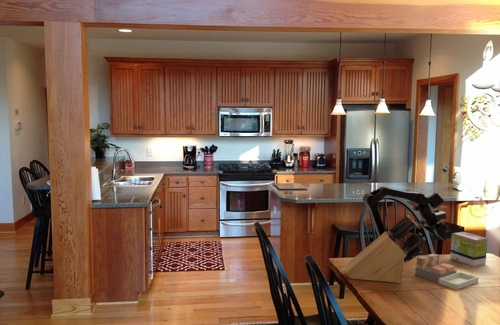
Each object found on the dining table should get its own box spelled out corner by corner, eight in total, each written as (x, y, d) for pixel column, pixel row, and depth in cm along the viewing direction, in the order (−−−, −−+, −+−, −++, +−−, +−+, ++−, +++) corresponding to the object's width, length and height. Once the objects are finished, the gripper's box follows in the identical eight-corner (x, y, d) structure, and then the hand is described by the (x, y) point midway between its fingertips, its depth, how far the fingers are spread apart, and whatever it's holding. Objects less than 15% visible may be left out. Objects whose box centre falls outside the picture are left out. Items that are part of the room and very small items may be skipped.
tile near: (440, 274, 197) (440, 270, 197) (430, 271, 201) (430, 267, 201) (446, 272, 200) (446, 268, 199) (436, 269, 204) (436, 265, 204)
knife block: (423, 286, 191) (427, 219, 189) (345, 279, 198) (347, 215, 196) (419, 277, 202) (422, 214, 200) (344, 271, 209) (347, 210, 207)
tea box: (449, 258, 233) (450, 232, 232) (461, 256, 238) (463, 231, 236) (473, 267, 220) (475, 239, 218) (486, 264, 224) (488, 237, 223)
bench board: (439, 282, 196) (439, 275, 196) (415, 274, 207) (415, 267, 207) (456, 277, 204) (456, 270, 204) (431, 269, 215) (432, 262, 214)
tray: (456, 290, 187) (456, 284, 187) (438, 283, 195) (438, 278, 194) (477, 282, 197) (478, 277, 197) (459, 276, 205) (459, 271, 204)
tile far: (448, 271, 201) (448, 267, 201) (439, 268, 205) (439, 264, 205) (454, 270, 203) (454, 266, 203) (444, 267, 208) (445, 263, 207)
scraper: (421, 269, 204) (422, 259, 203) (416, 267, 206) (416, 257, 206) (438, 264, 212) (439, 254, 211) (433, 262, 214) (433, 253, 214)
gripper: (449, 208, 208) (463, 234, 210) (430, 202, 227) (443, 226, 229) (430, 220, 208) (445, 246, 210) (412, 213, 227) (426, 236, 228)
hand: (440, 238), depth 219 cm, fingers open, 9 cm apart
